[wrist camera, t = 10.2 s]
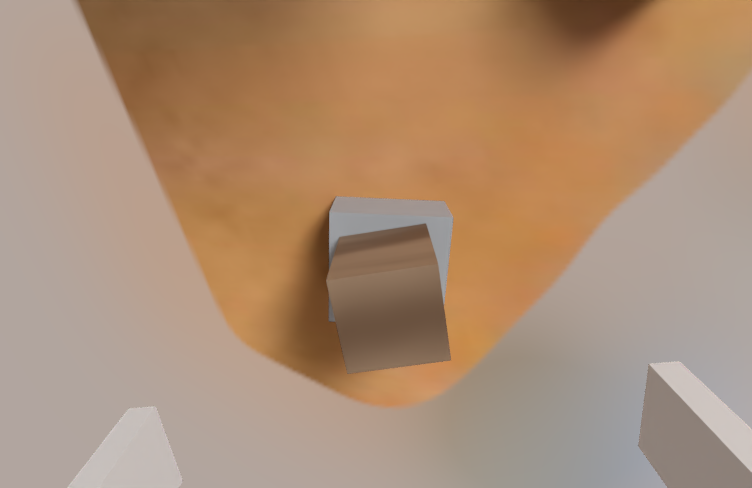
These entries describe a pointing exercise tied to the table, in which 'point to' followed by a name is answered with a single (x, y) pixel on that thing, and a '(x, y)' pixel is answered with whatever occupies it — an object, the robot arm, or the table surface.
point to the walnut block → (388, 299)
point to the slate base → (391, 224)
